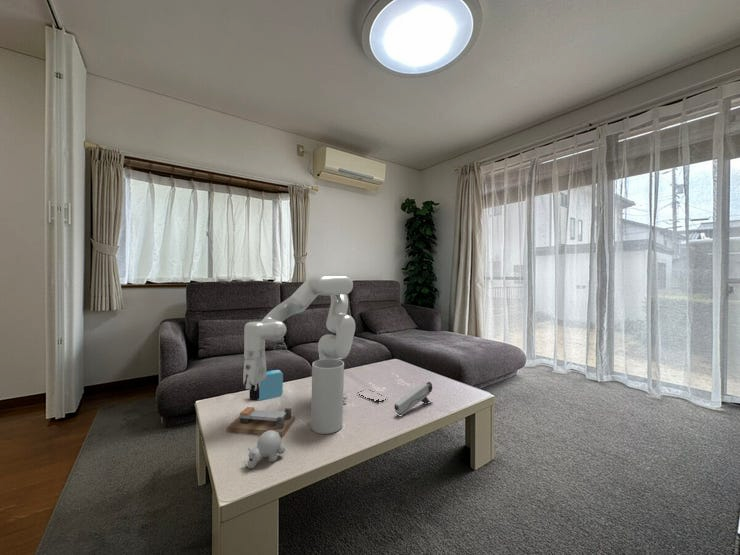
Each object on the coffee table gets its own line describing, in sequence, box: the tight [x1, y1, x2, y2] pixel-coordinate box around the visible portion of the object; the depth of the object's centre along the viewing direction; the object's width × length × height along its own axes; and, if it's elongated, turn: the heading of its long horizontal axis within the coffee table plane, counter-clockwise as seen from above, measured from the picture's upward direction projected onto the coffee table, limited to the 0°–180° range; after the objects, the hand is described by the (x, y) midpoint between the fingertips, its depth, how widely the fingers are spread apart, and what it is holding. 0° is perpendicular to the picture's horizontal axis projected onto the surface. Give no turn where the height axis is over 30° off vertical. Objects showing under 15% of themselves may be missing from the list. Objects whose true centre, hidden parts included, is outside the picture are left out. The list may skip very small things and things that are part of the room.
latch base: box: [225, 407, 296, 438], centre depth 109 cm, size 22×12×6 cm, turn 84°
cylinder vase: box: [310, 359, 345, 435], centre depth 111 cm, size 12×12×25 cm
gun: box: [393, 381, 433, 416], centre depth 127 cm, size 2×25×10 cm, turn 131°
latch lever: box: [239, 406, 287, 421], centre depth 109 cm, size 17×5×2 cm, turn 84°
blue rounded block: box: [257, 369, 284, 401], centre depth 136 cm, size 12×4×12 cm, turn 122°
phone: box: [356, 389, 386, 404], centre depth 139 cm, size 8×1×15 cm
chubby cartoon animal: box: [244, 430, 286, 469], centre depth 89 cm, size 7×12×8 cm, turn 135°
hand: (254, 399), depth 110 cm, fingers closed
